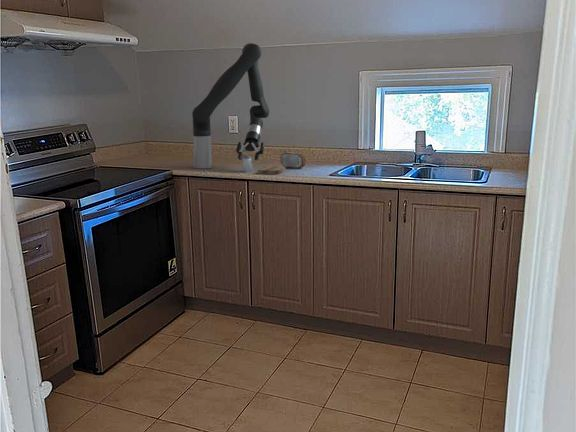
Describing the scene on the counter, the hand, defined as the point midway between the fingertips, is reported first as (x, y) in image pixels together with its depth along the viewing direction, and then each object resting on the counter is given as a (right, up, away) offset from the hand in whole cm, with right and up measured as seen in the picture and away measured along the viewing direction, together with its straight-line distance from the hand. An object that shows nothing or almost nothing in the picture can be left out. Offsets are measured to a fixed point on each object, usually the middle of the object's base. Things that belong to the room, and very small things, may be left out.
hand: (247, 159), depth 279 cm
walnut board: (+13, -7, -2) cm, 14 cm away
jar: (0, -6, +1) cm, 6 cm away
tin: (+23, -3, +13) cm, 27 cm away
